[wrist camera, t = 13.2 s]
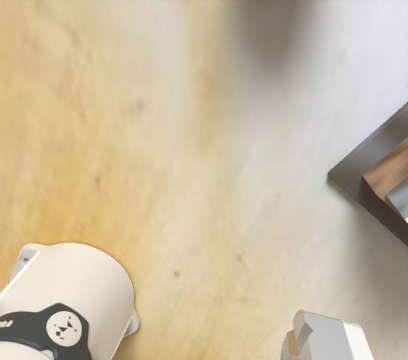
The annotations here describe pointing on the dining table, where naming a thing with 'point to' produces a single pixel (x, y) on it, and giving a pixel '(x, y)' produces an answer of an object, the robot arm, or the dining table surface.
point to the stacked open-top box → (380, 174)
